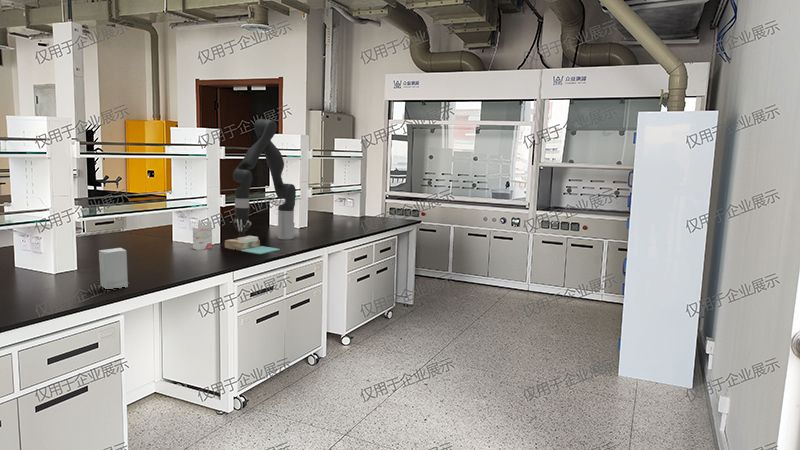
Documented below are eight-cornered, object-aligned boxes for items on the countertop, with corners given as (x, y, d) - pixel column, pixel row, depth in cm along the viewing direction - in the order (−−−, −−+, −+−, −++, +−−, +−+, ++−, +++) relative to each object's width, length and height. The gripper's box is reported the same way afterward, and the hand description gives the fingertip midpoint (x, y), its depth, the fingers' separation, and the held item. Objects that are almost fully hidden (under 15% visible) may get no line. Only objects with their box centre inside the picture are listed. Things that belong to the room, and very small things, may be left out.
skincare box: (122, 284, 217) (121, 247, 215) (128, 287, 213) (127, 249, 211) (99, 287, 211) (98, 249, 209) (105, 291, 207) (104, 252, 205)
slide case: (249, 239, 306) (249, 235, 306) (258, 240, 303) (258, 236, 303) (238, 241, 298) (238, 237, 298) (246, 242, 295) (246, 239, 295)
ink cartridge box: (206, 246, 299) (206, 219, 297) (212, 248, 296) (212, 221, 294) (192, 248, 293) (192, 221, 291) (197, 250, 290) (197, 222, 288)
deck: (243, 244, 312) (243, 237, 311) (259, 247, 306) (259, 239, 306) (224, 247, 299) (224, 240, 299) (241, 250, 294) (241, 243, 293)
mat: (261, 246, 307) (261, 245, 307) (280, 249, 301) (280, 248, 301) (241, 251, 293) (241, 250, 293) (260, 254, 287) (260, 253, 287)
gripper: (256, 207, 300) (255, 238, 303) (237, 205, 306) (237, 236, 309) (246, 208, 294) (246, 240, 296) (227, 205, 300) (227, 237, 302)
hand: (241, 238), depth 302 cm, fingers closed
